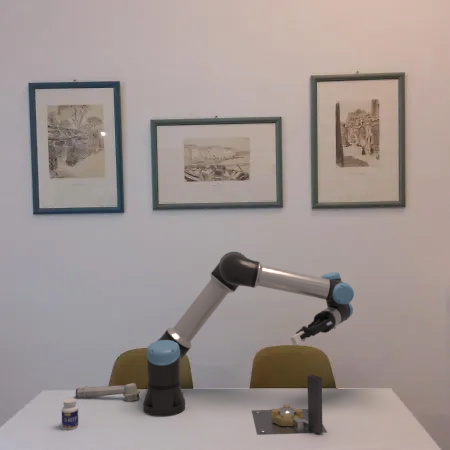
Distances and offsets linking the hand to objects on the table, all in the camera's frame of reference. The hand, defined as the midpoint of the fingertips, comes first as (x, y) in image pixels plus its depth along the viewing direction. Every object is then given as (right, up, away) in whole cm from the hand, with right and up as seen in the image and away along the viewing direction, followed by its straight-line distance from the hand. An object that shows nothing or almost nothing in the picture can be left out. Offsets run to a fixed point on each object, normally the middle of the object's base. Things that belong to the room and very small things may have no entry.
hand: (293, 341), depth 170 cm
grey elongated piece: (-68, -28, +23) cm, 77 cm away
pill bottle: (-75, -28, -4) cm, 80 cm away
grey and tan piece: (0, -25, -8) cm, 26 cm away
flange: (-3, -26, -4) cm, 27 cm away
